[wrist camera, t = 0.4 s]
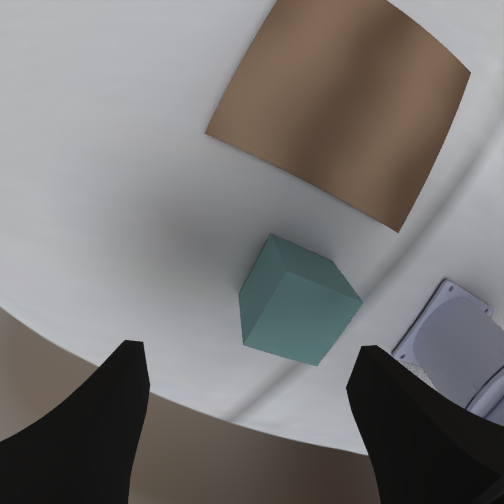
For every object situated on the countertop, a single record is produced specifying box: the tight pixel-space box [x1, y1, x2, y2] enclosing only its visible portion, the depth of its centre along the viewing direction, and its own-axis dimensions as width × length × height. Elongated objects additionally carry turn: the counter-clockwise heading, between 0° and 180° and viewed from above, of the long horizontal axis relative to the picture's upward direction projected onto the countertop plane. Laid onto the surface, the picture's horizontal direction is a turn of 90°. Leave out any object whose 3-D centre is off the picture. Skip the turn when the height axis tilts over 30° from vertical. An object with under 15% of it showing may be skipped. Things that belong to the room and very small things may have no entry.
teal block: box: [239, 234, 363, 366], centre depth 17 cm, size 4×4×5 cm
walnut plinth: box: [205, 0, 471, 233], centre depth 14 cm, size 12×12×2 cm
